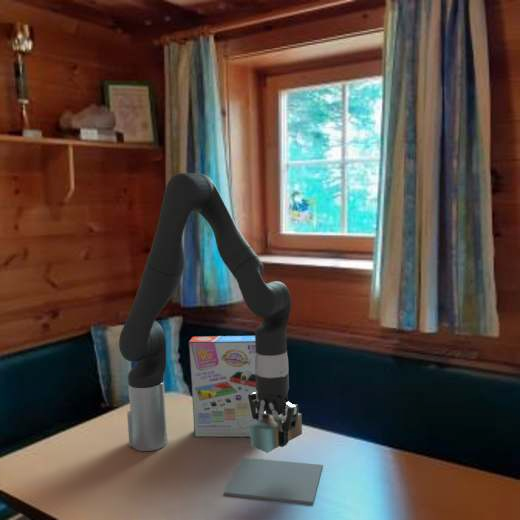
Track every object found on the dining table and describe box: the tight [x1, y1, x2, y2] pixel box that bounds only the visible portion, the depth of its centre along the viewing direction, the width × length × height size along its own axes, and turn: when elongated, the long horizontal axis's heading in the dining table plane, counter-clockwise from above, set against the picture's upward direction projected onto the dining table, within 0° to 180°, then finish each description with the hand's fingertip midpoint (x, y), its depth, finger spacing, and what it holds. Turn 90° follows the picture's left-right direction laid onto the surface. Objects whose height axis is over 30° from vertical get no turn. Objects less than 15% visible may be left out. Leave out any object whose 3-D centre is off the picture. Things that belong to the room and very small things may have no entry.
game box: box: [188, 335, 258, 438], centre depth 152 cm, size 21×6×27 cm, turn 84°
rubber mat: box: [223, 457, 324, 505], centre depth 129 cm, size 20×16×1 cm
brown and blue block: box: [250, 412, 303, 454], centre depth 128 cm, size 5×5×12 cm
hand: (274, 441), depth 128 cm, fingers closed on brown and blue block, 5 cm apart
